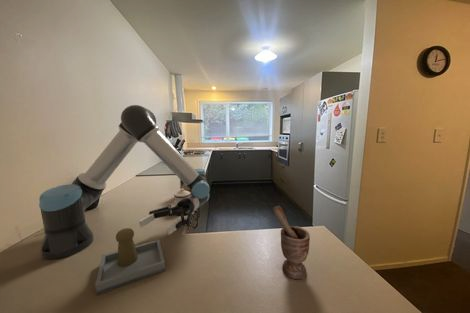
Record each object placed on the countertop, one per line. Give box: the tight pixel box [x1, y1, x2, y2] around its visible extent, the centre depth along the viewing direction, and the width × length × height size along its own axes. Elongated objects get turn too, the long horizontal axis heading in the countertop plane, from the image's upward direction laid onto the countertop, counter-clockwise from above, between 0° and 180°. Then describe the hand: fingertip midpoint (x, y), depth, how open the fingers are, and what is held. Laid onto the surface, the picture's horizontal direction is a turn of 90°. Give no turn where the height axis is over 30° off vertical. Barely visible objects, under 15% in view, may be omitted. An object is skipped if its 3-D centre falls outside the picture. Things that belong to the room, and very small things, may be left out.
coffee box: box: [179, 178, 191, 193], centre depth 125 cm, size 9×6×16 cm
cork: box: [115, 227, 138, 267], centre depth 62 cm, size 6×6×11 cm
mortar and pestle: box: [273, 205, 311, 280], centre depth 58 cm, size 12×9×20 cm
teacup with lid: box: [173, 189, 191, 207], centre depth 106 cm, size 12×9×12 cm
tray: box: [94, 239, 166, 296], centre depth 61 cm, size 18×14×3 cm
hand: (153, 227), depth 69 cm, fingers open, 13 cm apart
